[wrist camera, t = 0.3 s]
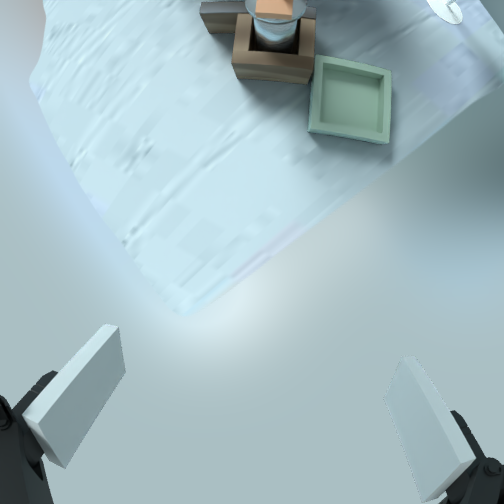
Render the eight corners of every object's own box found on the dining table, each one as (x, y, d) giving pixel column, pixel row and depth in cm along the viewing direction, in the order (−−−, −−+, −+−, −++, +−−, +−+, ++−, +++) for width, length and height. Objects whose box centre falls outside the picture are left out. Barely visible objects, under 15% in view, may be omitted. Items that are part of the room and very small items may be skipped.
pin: (254, 30, 30) (247, -24, 18) (297, 34, 30) (307, -19, 18) (250, 65, 32) (241, 18, 19) (295, 69, 32) (306, 23, 19)
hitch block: (210, 23, 31) (201, 2, 25) (310, 28, 31) (316, 7, 25) (202, 78, 34) (190, 62, 28) (307, 84, 33) (313, 69, 27)
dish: (312, 62, 32) (315, 54, 29) (383, 76, 32) (391, 70, 29) (307, 131, 35) (310, 128, 32) (380, 144, 34) (389, 142, 32)
